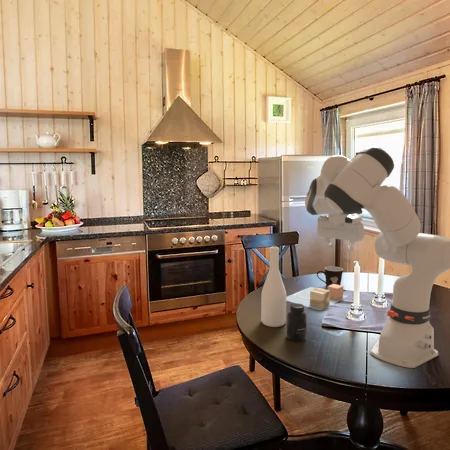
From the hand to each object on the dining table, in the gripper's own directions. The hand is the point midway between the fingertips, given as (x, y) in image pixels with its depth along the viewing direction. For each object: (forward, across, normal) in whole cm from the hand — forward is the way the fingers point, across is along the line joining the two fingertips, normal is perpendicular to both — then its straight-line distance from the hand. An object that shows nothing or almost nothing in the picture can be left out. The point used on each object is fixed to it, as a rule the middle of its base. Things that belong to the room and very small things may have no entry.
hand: (340, 248), depth 169 cm
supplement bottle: (+22, +5, -41) cm, 47 cm away
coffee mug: (+27, -16, +17) cm, 35 cm away
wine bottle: (+22, -9, -36) cm, 43 cm away
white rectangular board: (+25, -11, -3) cm, 27 cm away
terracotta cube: (+24, -6, +4) cm, 25 cm away
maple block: (+23, -5, -9) cm, 25 cm away
